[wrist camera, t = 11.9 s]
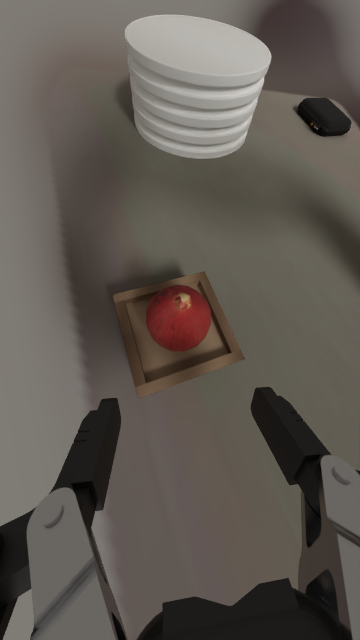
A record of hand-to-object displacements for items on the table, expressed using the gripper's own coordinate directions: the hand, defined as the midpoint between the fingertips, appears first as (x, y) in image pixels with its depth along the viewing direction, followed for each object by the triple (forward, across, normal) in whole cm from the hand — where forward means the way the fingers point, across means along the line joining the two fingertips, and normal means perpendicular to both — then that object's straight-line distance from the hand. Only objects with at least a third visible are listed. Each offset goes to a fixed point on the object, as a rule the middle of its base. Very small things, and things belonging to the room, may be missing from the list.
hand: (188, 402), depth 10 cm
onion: (+10, 0, +1) cm, 10 cm away
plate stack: (+53, -8, -35) cm, 64 cm away
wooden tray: (+14, 0, +4) cm, 14 cm away
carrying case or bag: (+57, -45, -39) cm, 82 cm away
